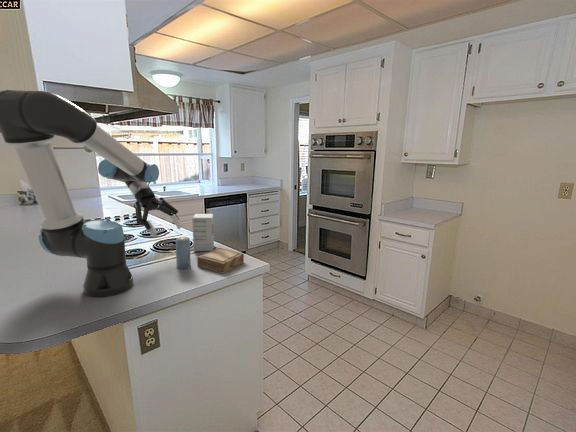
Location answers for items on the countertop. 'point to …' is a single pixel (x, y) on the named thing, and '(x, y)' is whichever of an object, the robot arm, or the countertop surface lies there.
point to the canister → (183, 253)
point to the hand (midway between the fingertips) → (168, 231)
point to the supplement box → (203, 232)
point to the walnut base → (220, 260)
